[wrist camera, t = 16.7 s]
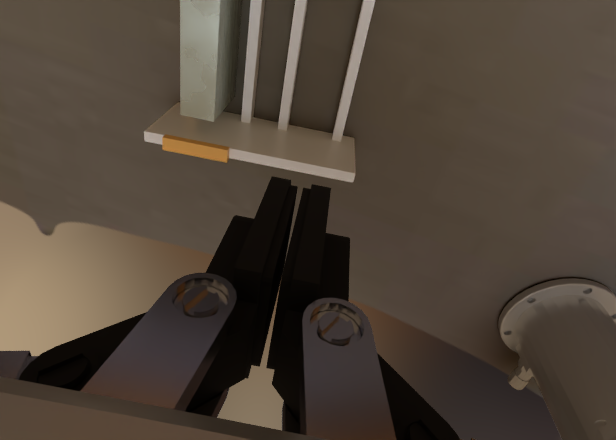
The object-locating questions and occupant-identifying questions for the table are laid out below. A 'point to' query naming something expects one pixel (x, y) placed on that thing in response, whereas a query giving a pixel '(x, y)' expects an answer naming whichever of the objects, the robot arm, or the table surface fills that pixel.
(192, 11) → the panel
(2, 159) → the table surface
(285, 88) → the rack
